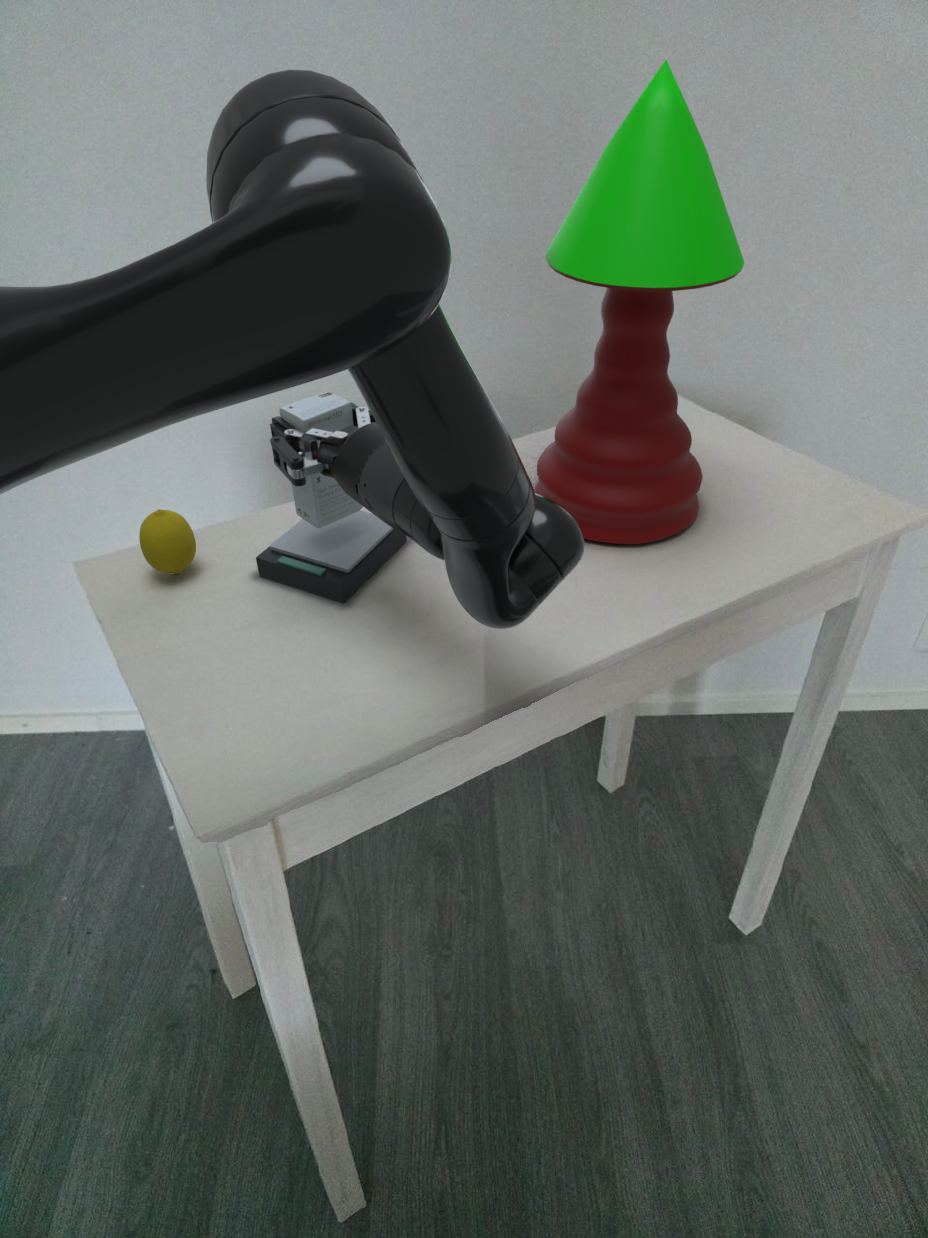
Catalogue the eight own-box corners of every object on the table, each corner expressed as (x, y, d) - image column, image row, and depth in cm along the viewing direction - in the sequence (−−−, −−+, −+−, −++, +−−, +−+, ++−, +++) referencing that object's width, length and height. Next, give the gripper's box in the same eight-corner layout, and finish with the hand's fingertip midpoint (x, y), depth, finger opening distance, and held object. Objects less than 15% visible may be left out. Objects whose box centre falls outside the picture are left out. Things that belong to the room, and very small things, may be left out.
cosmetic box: (319, 530, 86) (302, 421, 78) (294, 515, 88) (275, 407, 81) (366, 508, 89) (354, 401, 82) (340, 493, 92) (326, 388, 84)
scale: (344, 603, 86) (341, 580, 84) (259, 576, 90) (254, 553, 88) (407, 541, 95) (405, 518, 93) (327, 518, 99) (324, 497, 97)
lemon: (156, 594, 88) (136, 530, 83) (146, 567, 92) (126, 504, 87) (208, 579, 90) (192, 515, 85) (196, 553, 94) (179, 491, 89)
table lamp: (733, 515, 99) (834, 60, 71) (601, 567, 91) (654, 77, 63) (625, 449, 112) (674, 44, 84) (502, 489, 104) (510, 57, 76)
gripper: (461, 417, 75) (363, 362, 85) (320, 465, 68) (233, 400, 79) (463, 491, 79) (370, 430, 90) (331, 543, 73) (248, 471, 83)
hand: (307, 416), depth 84 cm, fingers closed on cosmetic box, 6 cm apart
